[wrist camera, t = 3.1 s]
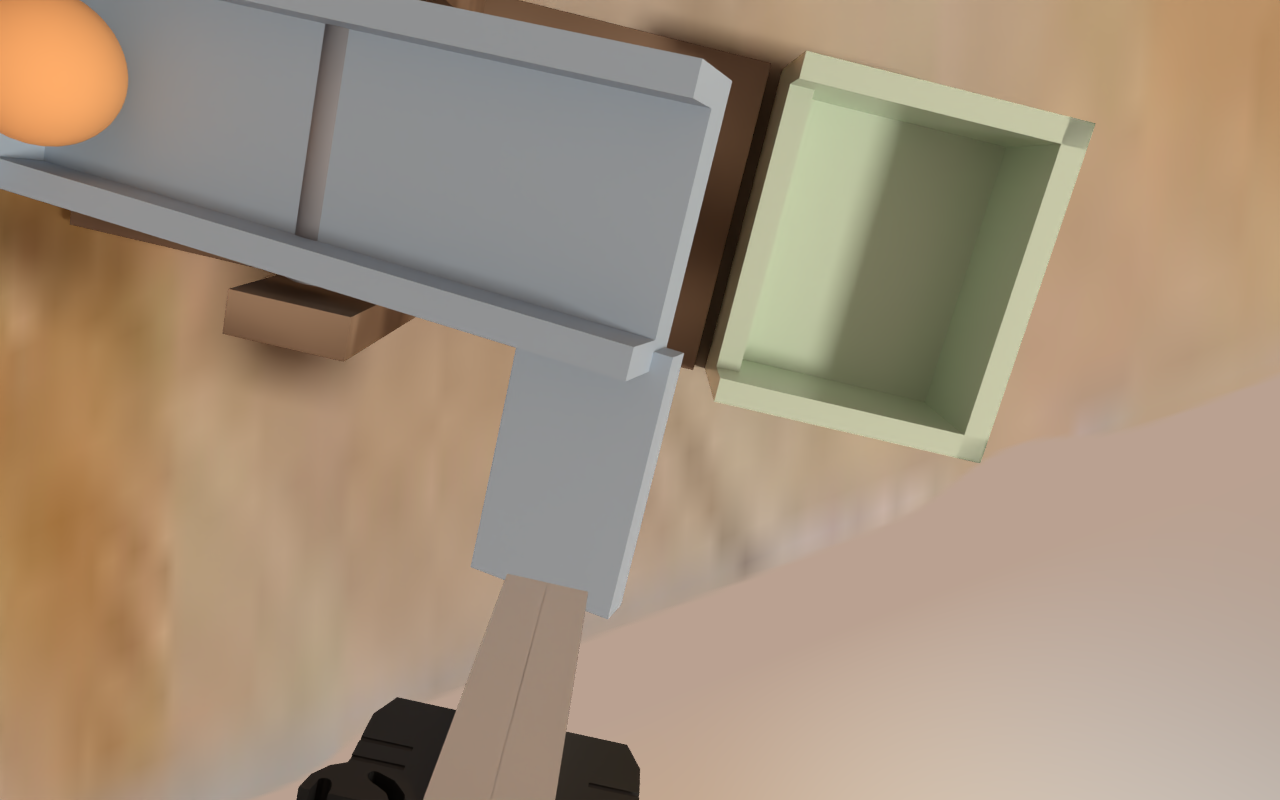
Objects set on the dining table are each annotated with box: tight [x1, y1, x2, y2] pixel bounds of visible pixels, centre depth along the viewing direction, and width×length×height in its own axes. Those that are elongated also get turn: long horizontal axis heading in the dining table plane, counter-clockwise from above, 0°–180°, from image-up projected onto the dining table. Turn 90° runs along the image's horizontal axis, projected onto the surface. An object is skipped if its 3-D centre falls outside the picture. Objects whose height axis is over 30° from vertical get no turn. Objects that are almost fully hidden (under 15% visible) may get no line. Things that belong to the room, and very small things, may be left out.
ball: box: [0, 0, 128, 147], centre depth 24 cm, size 4×4×4 cm
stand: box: [70, 0, 771, 370], centre depth 28 cm, size 11×23×11 cm, turn 77°
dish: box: [705, 51, 1095, 463], centre depth 32 cm, size 11×9×5 cm
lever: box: [0, 0, 732, 619], centre depth 24 cm, size 14×20×4 cm
